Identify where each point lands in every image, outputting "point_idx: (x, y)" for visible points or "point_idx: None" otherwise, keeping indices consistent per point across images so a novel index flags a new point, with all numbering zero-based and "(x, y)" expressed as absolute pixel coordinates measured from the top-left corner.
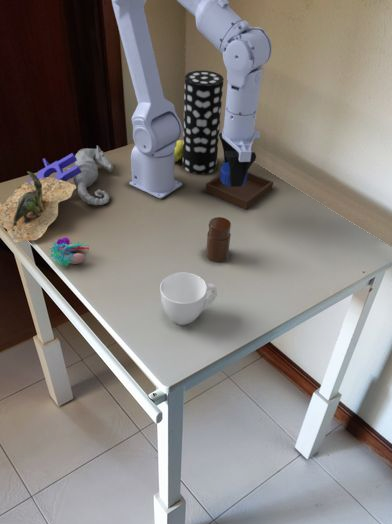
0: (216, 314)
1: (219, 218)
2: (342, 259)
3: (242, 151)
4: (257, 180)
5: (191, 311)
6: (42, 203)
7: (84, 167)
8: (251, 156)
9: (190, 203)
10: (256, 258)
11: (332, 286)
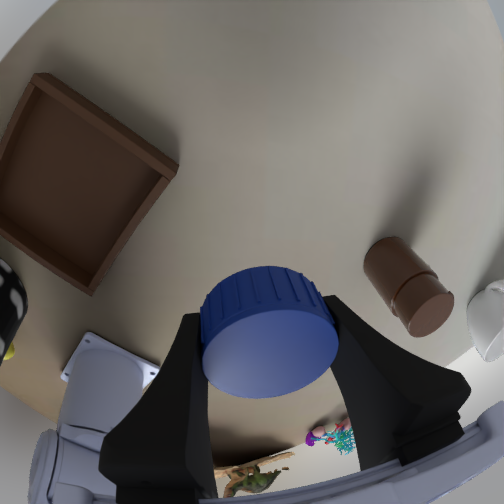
0: (493, 262)
1: (415, 319)
2: None
3: (499, 459)
4: (19, 129)
5: None
6: (243, 473)
7: None
8: (453, 405)
9: (164, 315)
10: (415, 171)
11: (497, 44)
